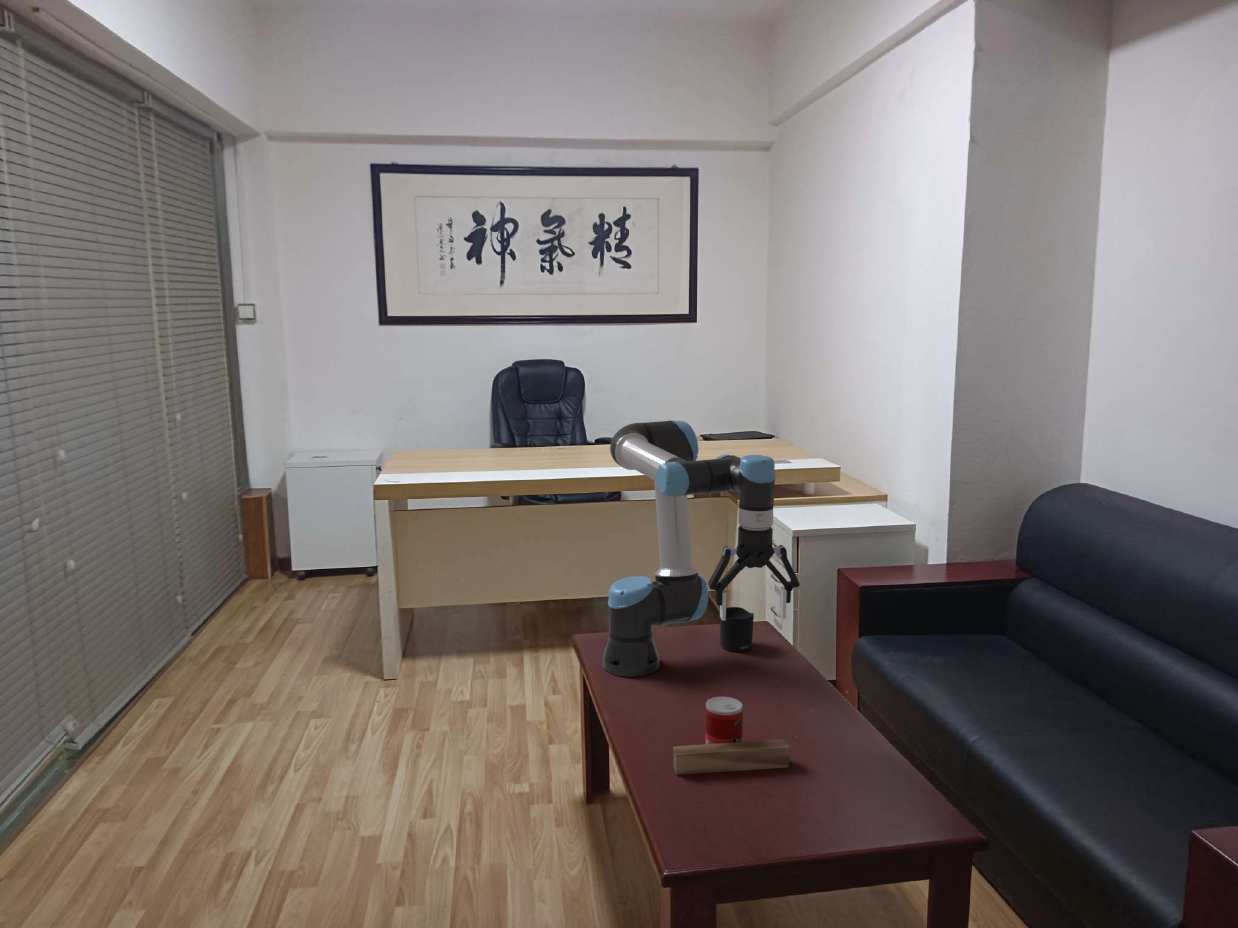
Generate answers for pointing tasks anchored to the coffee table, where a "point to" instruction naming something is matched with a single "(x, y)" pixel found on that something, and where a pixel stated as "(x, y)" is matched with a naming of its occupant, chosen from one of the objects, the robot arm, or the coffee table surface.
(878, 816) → the coffee table surface
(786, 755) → the board
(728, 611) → the pen holder
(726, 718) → the canned food
